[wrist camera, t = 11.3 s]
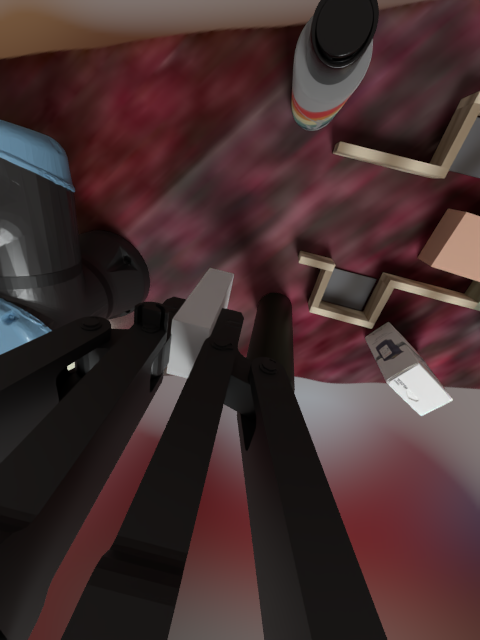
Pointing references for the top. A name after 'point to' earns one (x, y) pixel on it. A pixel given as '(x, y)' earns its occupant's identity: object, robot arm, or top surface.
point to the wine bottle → (274, 332)
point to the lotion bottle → (331, 59)
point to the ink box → (406, 370)
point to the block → (455, 245)
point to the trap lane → (353, 289)
